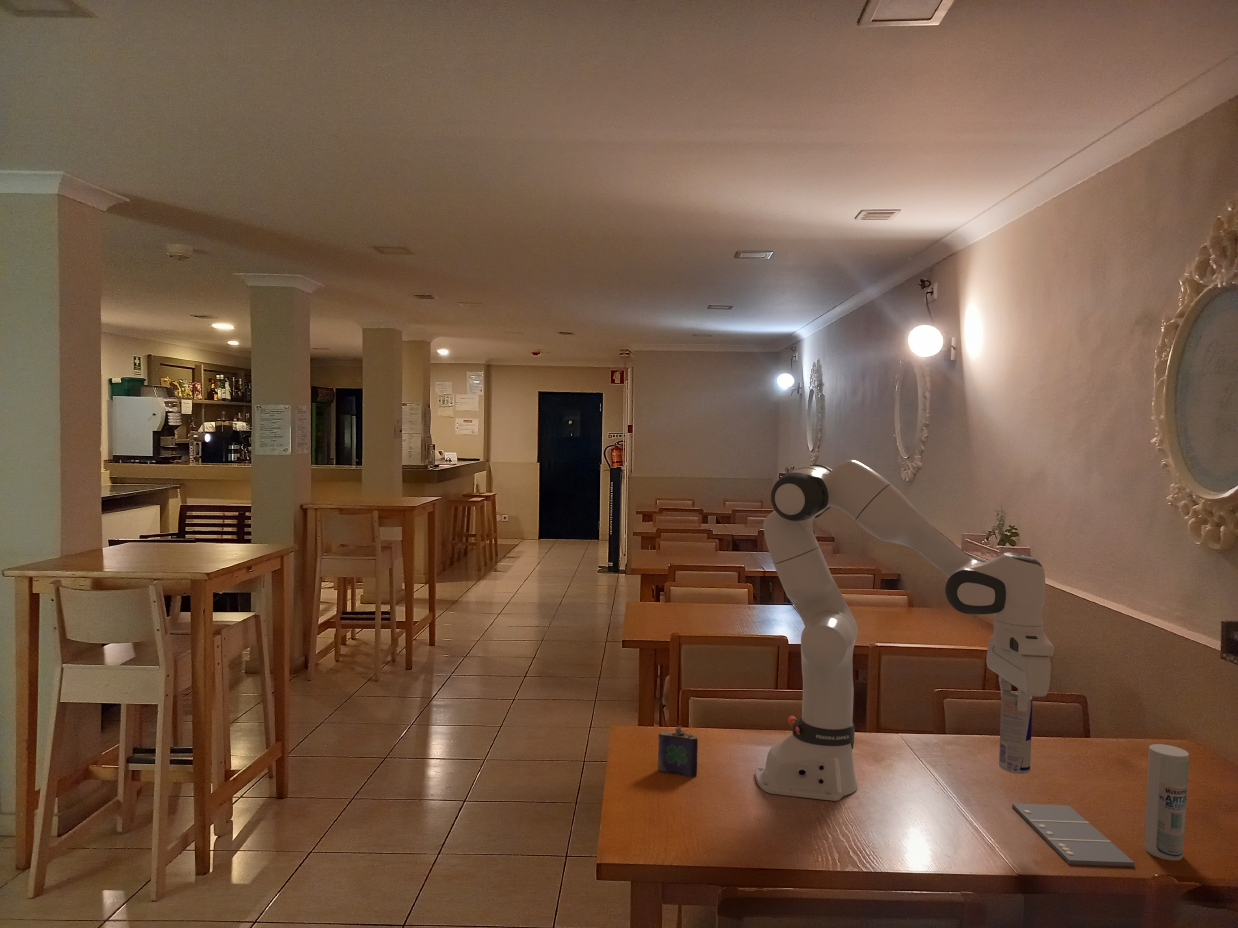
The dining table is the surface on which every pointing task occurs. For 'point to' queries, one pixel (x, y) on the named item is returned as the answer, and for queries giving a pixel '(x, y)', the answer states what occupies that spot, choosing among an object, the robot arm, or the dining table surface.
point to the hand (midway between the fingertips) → (1013, 704)
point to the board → (1072, 835)
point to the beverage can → (1015, 735)
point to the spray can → (1166, 801)
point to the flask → (678, 753)
